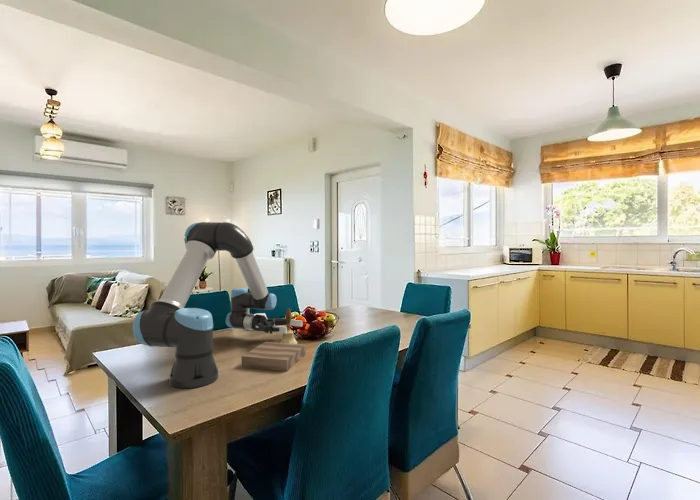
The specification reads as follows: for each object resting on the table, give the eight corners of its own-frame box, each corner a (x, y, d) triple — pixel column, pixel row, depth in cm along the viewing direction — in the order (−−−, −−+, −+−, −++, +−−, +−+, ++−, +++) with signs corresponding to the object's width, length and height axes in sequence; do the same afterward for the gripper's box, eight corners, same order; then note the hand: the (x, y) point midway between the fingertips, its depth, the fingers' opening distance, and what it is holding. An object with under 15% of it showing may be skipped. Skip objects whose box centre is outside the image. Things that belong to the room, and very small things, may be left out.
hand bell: (276, 342, 169) (276, 308, 168) (293, 340, 173) (293, 306, 172) (282, 347, 161) (283, 311, 161) (300, 344, 166) (300, 309, 165)
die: (261, 332, 191) (271, 315, 194) (247, 323, 191) (257, 307, 194) (262, 333, 198) (271, 318, 202) (248, 326, 198) (258, 310, 202)
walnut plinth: (287, 371, 132) (287, 360, 132) (241, 366, 136) (241, 356, 136) (305, 354, 152) (305, 344, 151) (265, 351, 156) (265, 341, 155)
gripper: (271, 324, 186) (307, 329, 177) (238, 336, 162) (278, 342, 154) (271, 310, 185) (308, 313, 177) (238, 319, 162) (278, 324, 154)
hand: (294, 326), depth 166 cm, fingers open, 13 cm apart
